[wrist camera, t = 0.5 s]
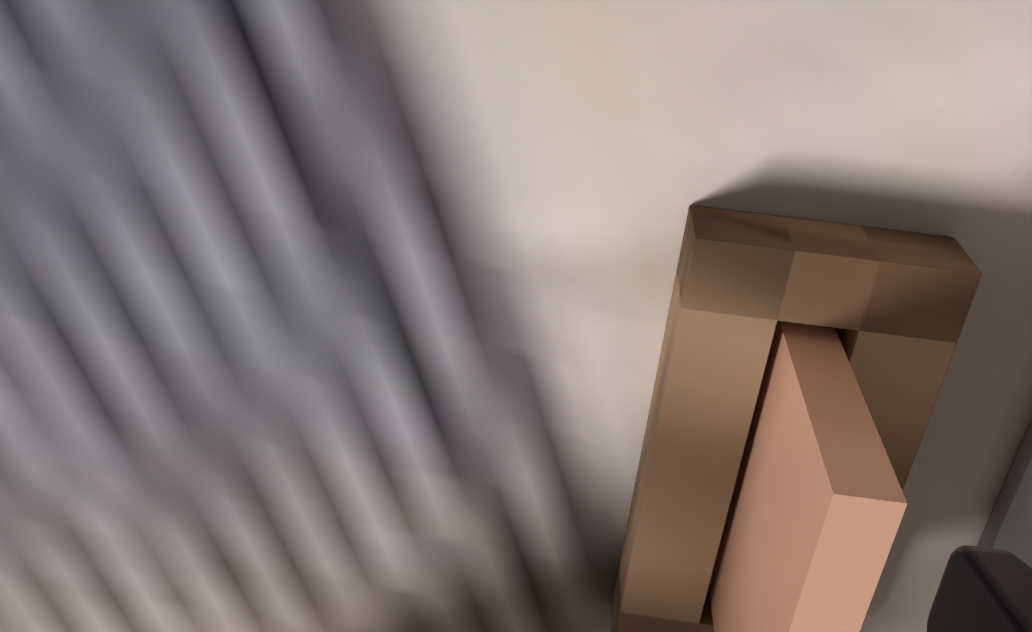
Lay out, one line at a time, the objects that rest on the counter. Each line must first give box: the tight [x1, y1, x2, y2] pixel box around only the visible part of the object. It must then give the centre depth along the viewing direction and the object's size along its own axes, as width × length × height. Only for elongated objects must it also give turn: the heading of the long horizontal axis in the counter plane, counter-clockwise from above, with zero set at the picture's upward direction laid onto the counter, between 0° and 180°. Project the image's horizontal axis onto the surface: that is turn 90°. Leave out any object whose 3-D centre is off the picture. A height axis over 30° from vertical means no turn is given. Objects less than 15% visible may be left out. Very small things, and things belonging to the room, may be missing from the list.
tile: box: [709, 320, 908, 632], centre depth 20 cm, size 8×1×7 cm, turn 175°
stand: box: [611, 205, 982, 632], centre depth 23 cm, size 12×6×2 cm, turn 175°
